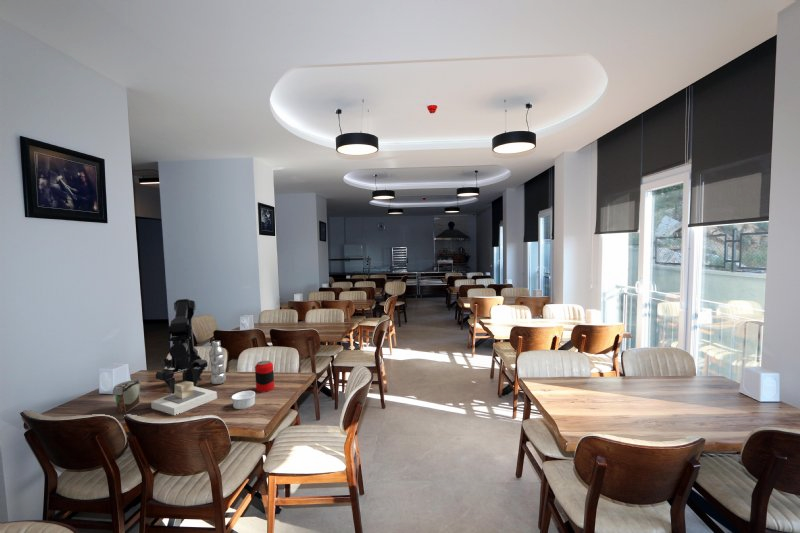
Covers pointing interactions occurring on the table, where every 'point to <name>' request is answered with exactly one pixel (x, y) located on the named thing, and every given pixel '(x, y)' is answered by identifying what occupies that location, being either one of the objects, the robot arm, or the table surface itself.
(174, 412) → the base
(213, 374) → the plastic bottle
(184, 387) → the birch block
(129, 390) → the food container
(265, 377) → the soda can
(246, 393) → the ramekin
